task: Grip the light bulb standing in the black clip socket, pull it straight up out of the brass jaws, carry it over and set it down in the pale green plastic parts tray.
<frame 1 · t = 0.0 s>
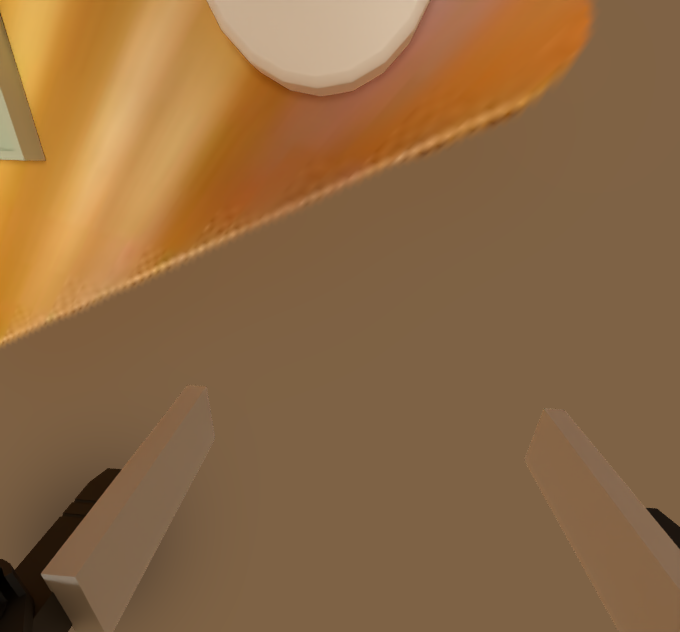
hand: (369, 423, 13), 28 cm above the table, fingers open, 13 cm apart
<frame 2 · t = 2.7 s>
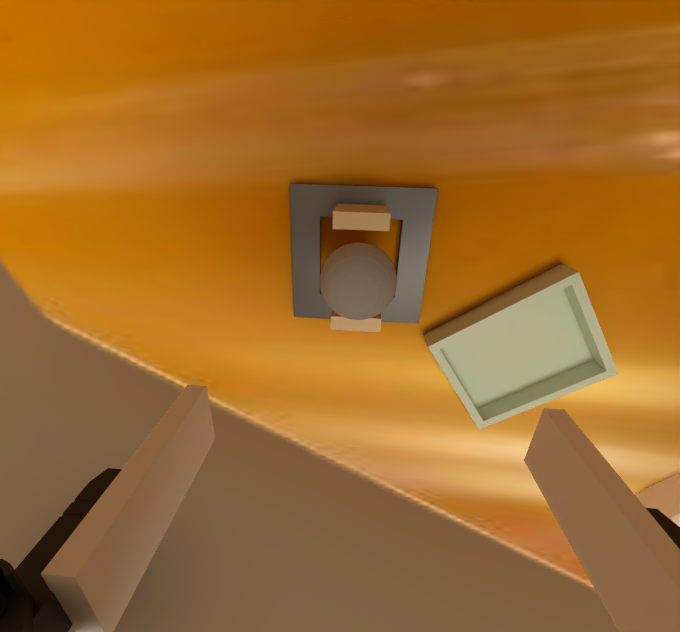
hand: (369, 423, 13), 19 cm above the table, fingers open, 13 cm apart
light bulb: (359, 255, 30), resting in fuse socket
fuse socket: (359, 256, 30), on the table
parts tray: (511, 346, 33), on the table
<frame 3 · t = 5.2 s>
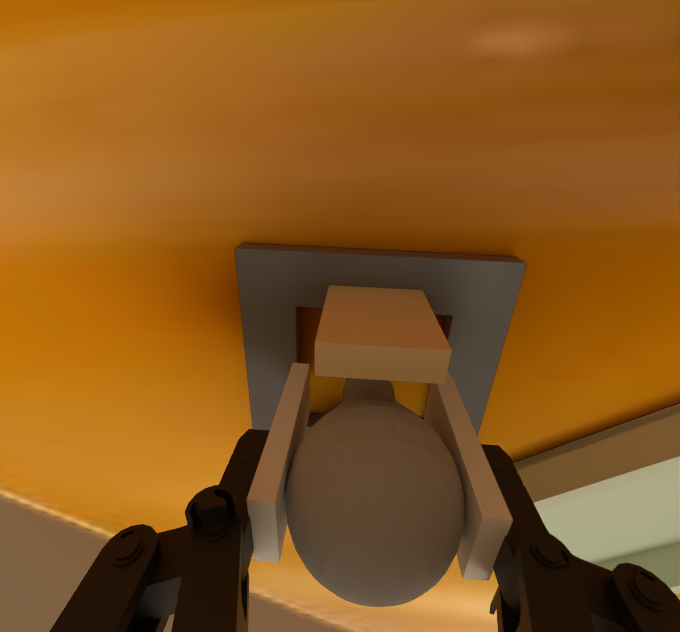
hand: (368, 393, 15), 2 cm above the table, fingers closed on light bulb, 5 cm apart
light bulb: (367, 362, 17), resting in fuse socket, touching gripper
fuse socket: (367, 364, 17), on the table
parts tray: (615, 498, 20), on the table
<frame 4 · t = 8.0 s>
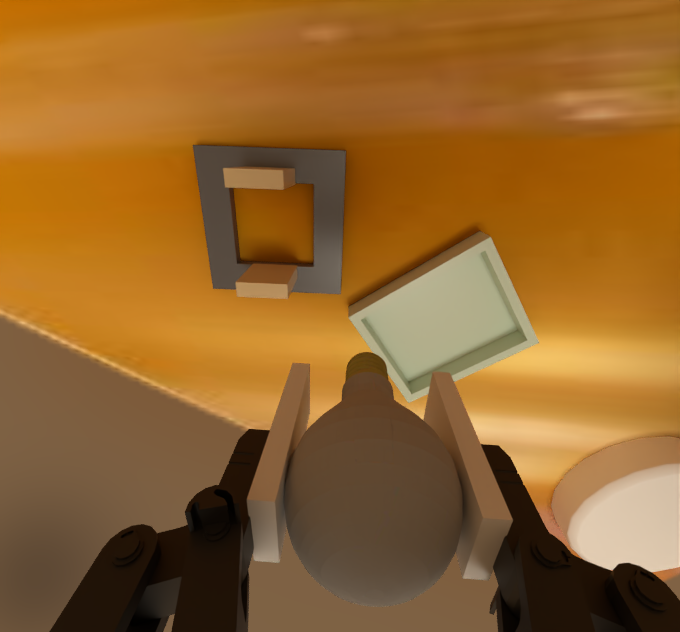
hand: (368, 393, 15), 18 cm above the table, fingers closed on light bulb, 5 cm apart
light bulb: (366, 362, 17), point 15 cm above the table, touching gripper
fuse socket: (275, 224, 29), on the table
parts tray: (438, 318, 33), on the table
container: (630, 490, 43), on the table
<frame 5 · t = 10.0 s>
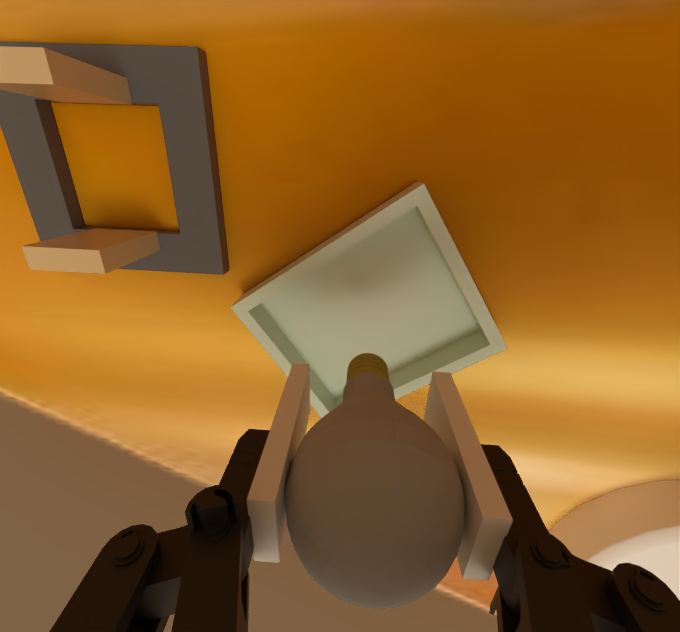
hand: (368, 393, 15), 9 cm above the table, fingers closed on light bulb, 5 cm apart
light bulb: (367, 363, 17), point 7 cm above the table, touching gripper
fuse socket: (123, 171, 20), on the table
parts tray: (368, 312, 23), on the table
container: (642, 546, 33), on the table
when the fingers open (4 cm above the table, at t = 11.1 s): light bulb drops 1 cm, resting on parts tray.
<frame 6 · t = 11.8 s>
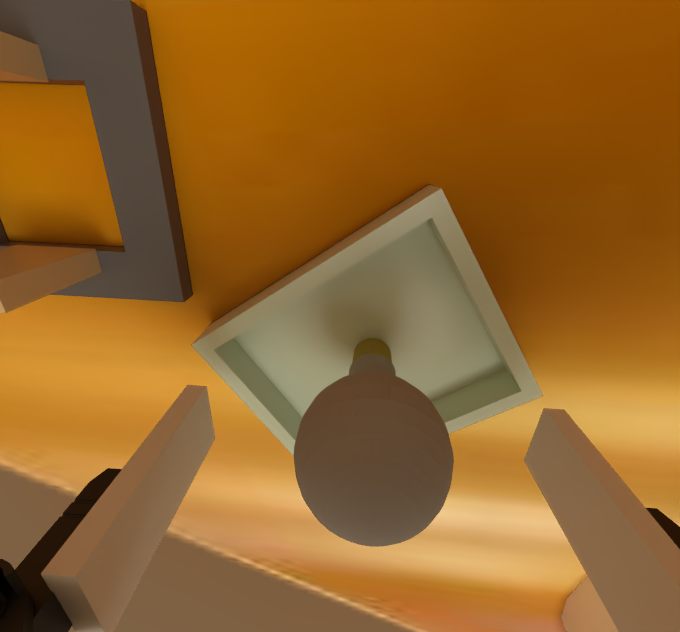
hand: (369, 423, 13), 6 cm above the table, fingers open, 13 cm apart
light bulb: (372, 348, 18), resting on parts tray
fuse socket: (50, 171, 16), on the table
parts tray: (366, 345, 19), on the table
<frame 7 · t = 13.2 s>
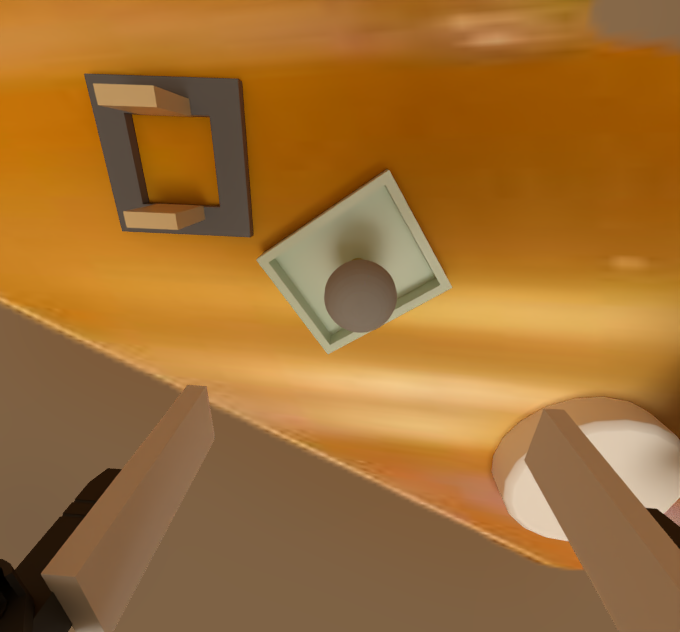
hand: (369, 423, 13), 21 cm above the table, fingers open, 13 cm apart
light bulb: (357, 266, 32), resting on parts tray
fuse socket: (180, 162, 29), on the table
parts tray: (354, 265, 32), on the table
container: (571, 457, 42), on the table
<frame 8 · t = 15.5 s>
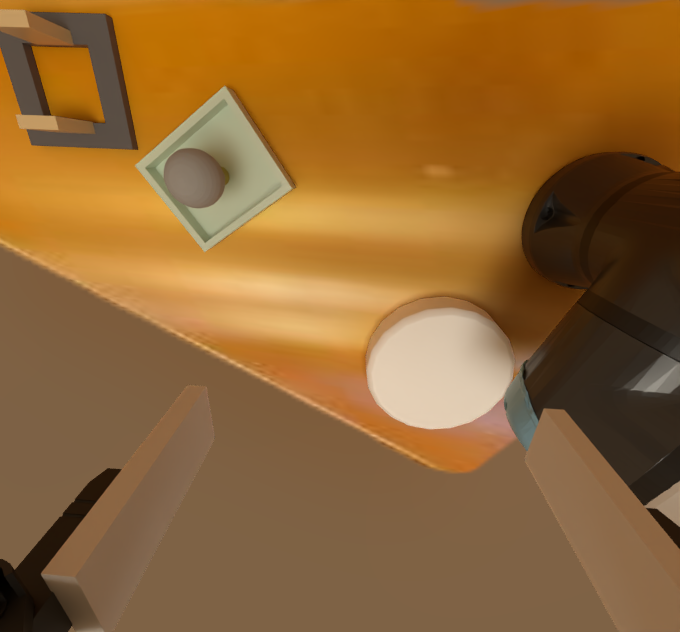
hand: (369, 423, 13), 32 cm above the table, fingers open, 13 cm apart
light bulb: (223, 176, 39), resting on parts tray
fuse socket: (72, 86, 36), on the table
parts tray: (222, 176, 39), on the table
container: (433, 357, 49), on the table
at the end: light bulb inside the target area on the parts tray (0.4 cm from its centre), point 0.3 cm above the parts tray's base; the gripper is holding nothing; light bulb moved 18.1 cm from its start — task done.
